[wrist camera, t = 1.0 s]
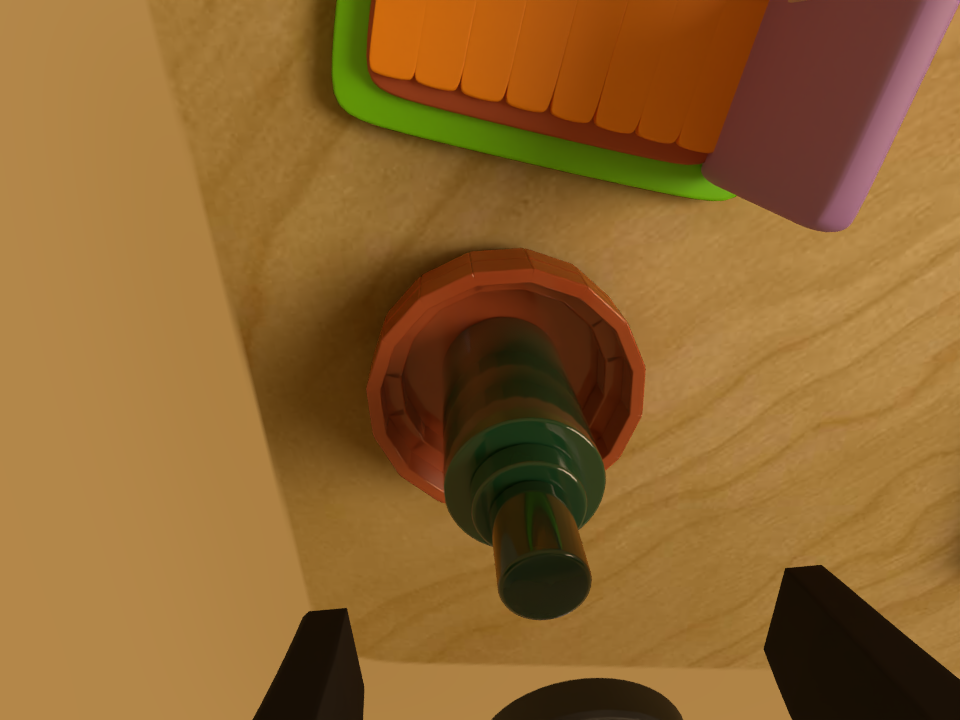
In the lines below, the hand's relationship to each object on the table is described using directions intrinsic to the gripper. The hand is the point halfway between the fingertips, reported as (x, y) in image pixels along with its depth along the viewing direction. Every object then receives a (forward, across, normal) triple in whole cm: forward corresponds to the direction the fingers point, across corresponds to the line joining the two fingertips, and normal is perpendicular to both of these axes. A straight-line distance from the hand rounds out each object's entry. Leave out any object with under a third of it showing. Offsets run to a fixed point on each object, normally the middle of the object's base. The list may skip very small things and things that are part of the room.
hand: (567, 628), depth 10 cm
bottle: (+10, 0, +1) cm, 10 cm away
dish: (+11, 0, +1) cm, 11 cm away
